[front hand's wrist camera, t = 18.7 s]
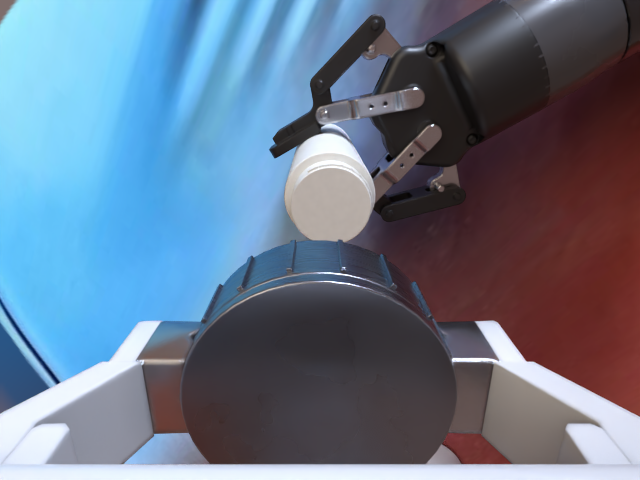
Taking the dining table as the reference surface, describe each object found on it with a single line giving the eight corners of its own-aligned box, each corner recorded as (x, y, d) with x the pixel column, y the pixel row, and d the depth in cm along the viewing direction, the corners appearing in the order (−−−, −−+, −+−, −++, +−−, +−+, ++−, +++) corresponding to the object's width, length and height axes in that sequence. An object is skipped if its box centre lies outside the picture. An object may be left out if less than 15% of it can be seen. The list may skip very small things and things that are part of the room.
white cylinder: (361, 164, 37) (395, 229, 21) (311, 188, 37) (308, 267, 21) (338, 113, 35) (356, 140, 19) (287, 138, 36) (264, 184, 20)
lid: (171, 261, 9) (133, 308, 7) (419, 214, 9) (446, 250, 7) (236, 448, 11) (220, 524, 9) (444, 414, 11) (472, 486, 9)
